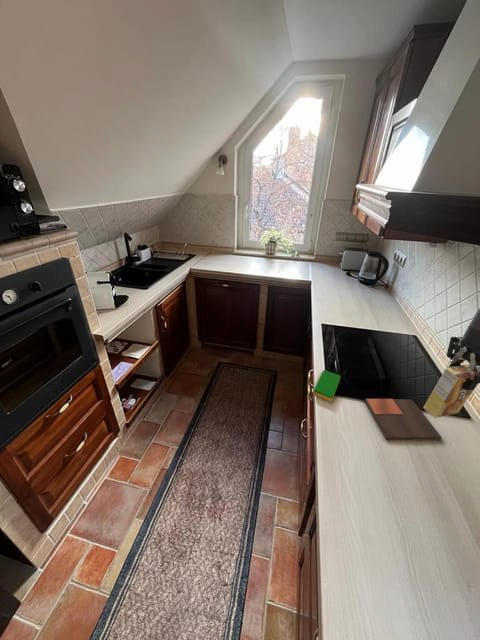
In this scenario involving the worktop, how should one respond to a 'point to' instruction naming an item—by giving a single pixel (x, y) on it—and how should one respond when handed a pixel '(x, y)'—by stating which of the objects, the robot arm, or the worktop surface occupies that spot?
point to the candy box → (449, 392)
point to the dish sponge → (327, 385)
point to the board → (401, 419)
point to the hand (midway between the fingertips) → (458, 381)
